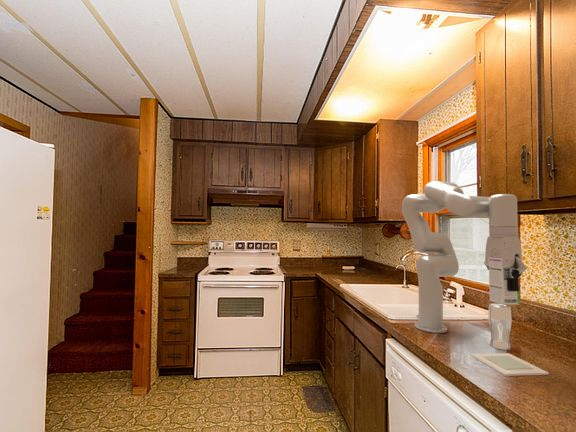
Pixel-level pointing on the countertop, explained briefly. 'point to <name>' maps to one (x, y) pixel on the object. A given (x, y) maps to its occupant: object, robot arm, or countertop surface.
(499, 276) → the syrup box
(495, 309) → the beer glass
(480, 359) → the tile
